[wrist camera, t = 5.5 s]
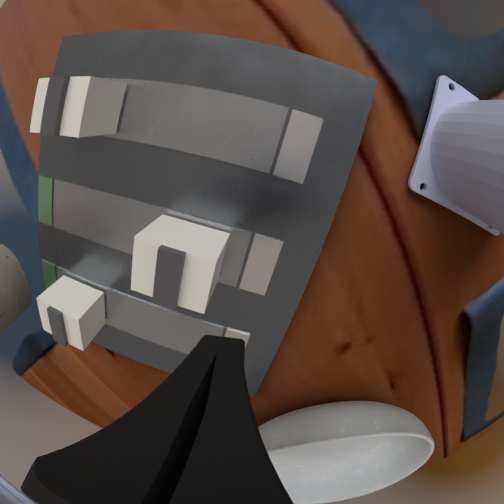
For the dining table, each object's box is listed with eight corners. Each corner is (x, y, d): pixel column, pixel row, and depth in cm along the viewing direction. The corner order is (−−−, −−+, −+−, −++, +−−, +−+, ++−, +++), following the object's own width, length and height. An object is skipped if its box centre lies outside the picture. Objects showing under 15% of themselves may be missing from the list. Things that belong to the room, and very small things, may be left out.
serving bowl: (302, 473, 32) (301, 511, 25) (194, 417, 27) (179, 469, 20) (436, 419, 25) (449, 461, 18) (373, 331, 20) (396, 401, 13)
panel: (370, 85, 13) (378, 80, 11) (255, 384, 23) (254, 398, 21) (76, 40, 12) (62, 36, 11) (58, 312, 22) (49, 321, 21)
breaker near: (127, 83, 12) (86, 75, 9) (115, 133, 14) (73, 138, 10) (76, 82, 12) (34, 78, 9) (68, 127, 14) (24, 132, 10)
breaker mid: (230, 233, 15) (214, 265, 12) (218, 279, 17) (202, 319, 13) (162, 214, 15) (130, 239, 12) (156, 260, 17) (127, 293, 13)
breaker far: (103, 292, 18) (75, 323, 15) (105, 322, 19) (80, 354, 16) (63, 275, 18) (33, 301, 15) (67, 305, 19) (40, 332, 16)
